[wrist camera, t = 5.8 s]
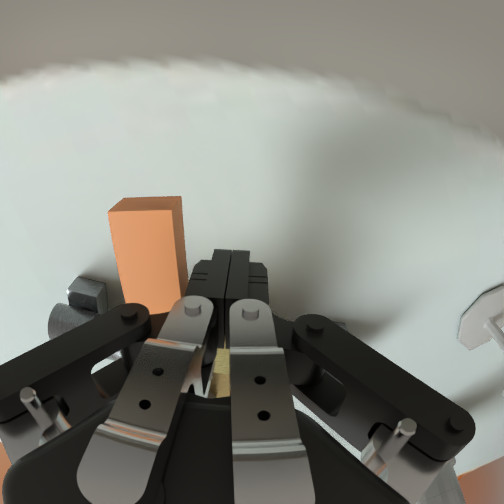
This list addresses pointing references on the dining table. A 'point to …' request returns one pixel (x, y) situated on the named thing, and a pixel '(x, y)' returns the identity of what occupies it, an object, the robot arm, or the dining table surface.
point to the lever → (150, 251)
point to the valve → (95, 304)
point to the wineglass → (483, 321)
